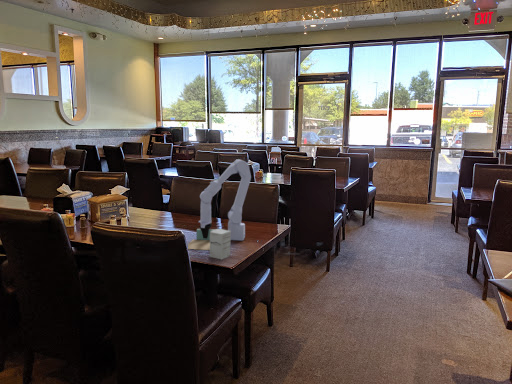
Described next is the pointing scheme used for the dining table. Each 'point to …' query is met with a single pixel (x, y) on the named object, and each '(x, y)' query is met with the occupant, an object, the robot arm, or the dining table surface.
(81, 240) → the dining table surface
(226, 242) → the supplement box
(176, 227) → the dining table surface
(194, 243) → the mat
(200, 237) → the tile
